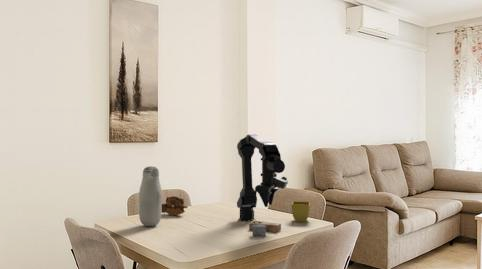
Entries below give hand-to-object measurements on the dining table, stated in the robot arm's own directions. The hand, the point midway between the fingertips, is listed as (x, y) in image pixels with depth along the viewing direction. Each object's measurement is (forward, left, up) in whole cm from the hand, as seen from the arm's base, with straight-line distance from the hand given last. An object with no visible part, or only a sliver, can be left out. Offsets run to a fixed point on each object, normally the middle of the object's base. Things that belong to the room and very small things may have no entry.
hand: (268, 205), depth 184 cm
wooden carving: (-58, +12, -11) cm, 60 cm away
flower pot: (+8, +25, -11) cm, 29 cm away
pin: (-6, 0, -11) cm, 12 cm away
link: (-1, 0, -11) cm, 11 cm away
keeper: (-1, -10, -11) cm, 15 cm away
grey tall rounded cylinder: (-54, -14, -11) cm, 56 cm away
